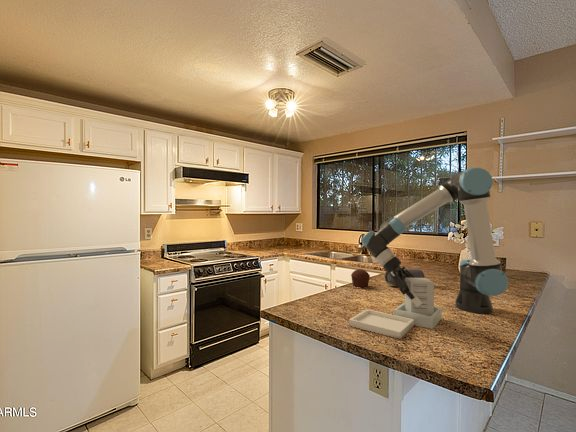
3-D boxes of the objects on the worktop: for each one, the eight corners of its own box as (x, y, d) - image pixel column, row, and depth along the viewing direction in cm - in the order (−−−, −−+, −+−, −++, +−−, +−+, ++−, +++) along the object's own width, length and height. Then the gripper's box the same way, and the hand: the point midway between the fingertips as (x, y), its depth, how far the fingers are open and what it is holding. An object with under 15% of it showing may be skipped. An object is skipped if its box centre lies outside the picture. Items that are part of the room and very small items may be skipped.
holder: (441, 318, 130) (441, 308, 130) (432, 329, 118) (432, 317, 118) (405, 311, 139) (405, 301, 139) (393, 320, 128) (394, 309, 128)
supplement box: (434, 324, 123) (434, 282, 123) (410, 323, 124) (411, 281, 124) (425, 316, 133) (426, 277, 133) (404, 315, 134) (404, 276, 134)
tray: (414, 325, 122) (414, 319, 122) (399, 339, 108) (400, 332, 108) (366, 314, 134) (366, 309, 134) (348, 325, 121) (348, 319, 121)
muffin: (370, 289, 179) (370, 272, 179) (351, 288, 181) (351, 271, 181) (369, 284, 191) (369, 268, 190) (350, 283, 193) (351, 267, 193)
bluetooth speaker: (392, 288, 182) (393, 271, 181) (384, 284, 191) (384, 268, 190) (425, 286, 188) (425, 270, 188) (415, 282, 197) (415, 267, 197)
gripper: (392, 262, 148) (425, 300, 138) (372, 270, 129) (408, 314, 119) (404, 253, 144) (438, 290, 135) (384, 259, 125) (423, 303, 116)
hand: (424, 301), depth 127 cm, fingers closed on supplement box, 12 cm apart
